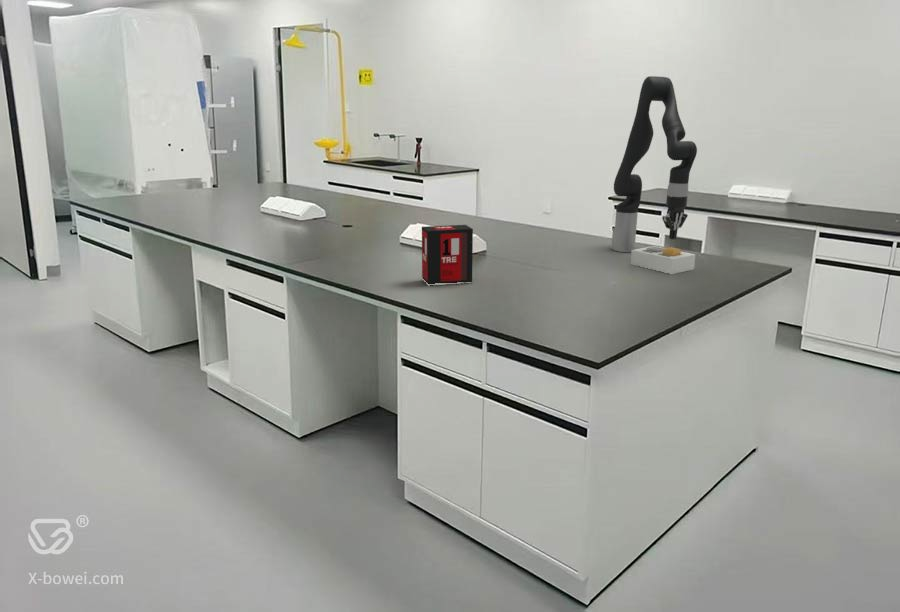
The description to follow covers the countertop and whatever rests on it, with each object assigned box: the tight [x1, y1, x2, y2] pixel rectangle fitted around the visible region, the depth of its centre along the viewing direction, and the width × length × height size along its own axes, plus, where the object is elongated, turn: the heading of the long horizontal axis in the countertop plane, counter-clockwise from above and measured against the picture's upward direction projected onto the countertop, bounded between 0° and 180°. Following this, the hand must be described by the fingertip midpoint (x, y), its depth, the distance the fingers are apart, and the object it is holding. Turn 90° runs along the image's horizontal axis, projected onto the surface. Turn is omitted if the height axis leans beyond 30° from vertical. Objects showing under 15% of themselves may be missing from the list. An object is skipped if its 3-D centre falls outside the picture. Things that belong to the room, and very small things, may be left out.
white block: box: [645, 246, 665, 253], centre depth 275 cm, size 5×5×4 cm
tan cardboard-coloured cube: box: [663, 247, 682, 256], centre depth 268 cm, size 5×5×4 cm
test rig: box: [629, 245, 696, 275], centre depth 272 cm, size 20×14×6 cm
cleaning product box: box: [421, 224, 474, 284], centre depth 247 cm, size 16×9×20 cm, turn 105°
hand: (672, 239), depth 266 cm, fingers closed
